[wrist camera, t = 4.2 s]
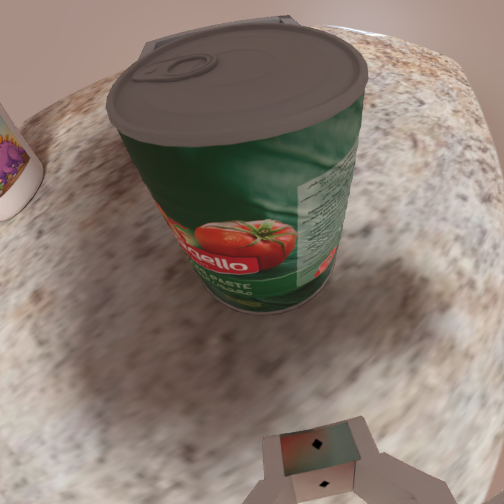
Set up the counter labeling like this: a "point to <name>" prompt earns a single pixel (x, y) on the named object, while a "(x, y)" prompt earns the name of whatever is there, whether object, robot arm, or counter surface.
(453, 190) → the counter surface
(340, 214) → the canned tomato
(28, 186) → the milk bottle
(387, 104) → the counter surface
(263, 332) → the counter surface
